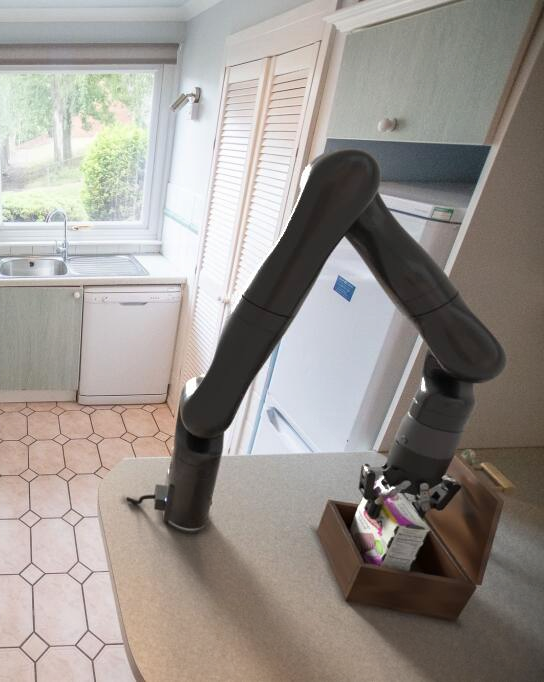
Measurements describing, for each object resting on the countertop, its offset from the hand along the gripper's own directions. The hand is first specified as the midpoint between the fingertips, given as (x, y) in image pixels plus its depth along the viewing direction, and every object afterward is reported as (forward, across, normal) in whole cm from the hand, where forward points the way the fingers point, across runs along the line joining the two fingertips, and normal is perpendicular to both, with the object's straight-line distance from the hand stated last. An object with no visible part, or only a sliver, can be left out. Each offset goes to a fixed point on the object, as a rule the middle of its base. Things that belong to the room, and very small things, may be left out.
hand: (390, 518), depth 80 cm
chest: (+13, -2, 0) cm, 13 cm away
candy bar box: (+13, 0, 0) cm, 13 cm away
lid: (-5, -8, 0) cm, 9 cm away
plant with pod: (+14, -19, -18) cm, 29 cm away
